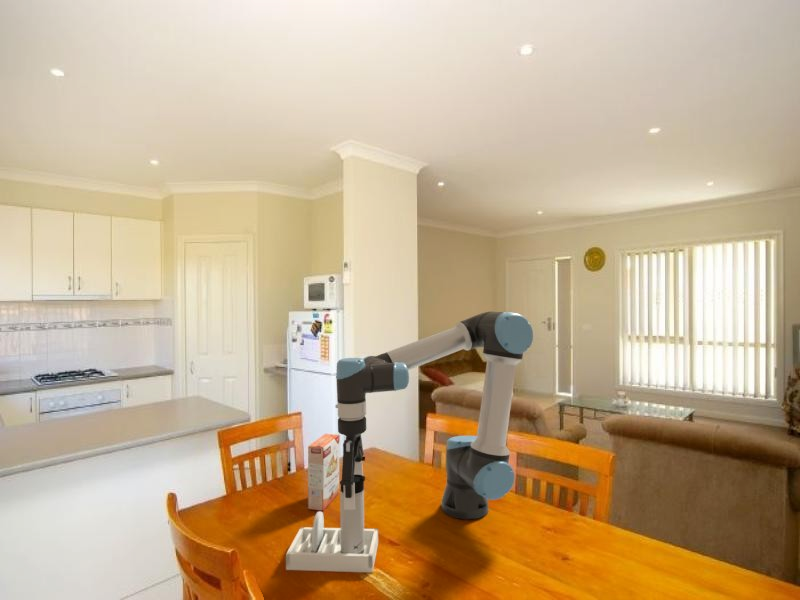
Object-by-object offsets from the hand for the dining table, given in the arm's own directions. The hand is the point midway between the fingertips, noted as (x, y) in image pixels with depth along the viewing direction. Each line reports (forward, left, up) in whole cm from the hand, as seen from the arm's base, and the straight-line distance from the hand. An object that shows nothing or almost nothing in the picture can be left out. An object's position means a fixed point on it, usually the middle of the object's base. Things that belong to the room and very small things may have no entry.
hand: (354, 496), depth 116 cm
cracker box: (+15, -31, -16) cm, 38 cm away
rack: (+5, 0, -16) cm, 17 cm away
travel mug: (0, 0, -15) cm, 15 cm away
